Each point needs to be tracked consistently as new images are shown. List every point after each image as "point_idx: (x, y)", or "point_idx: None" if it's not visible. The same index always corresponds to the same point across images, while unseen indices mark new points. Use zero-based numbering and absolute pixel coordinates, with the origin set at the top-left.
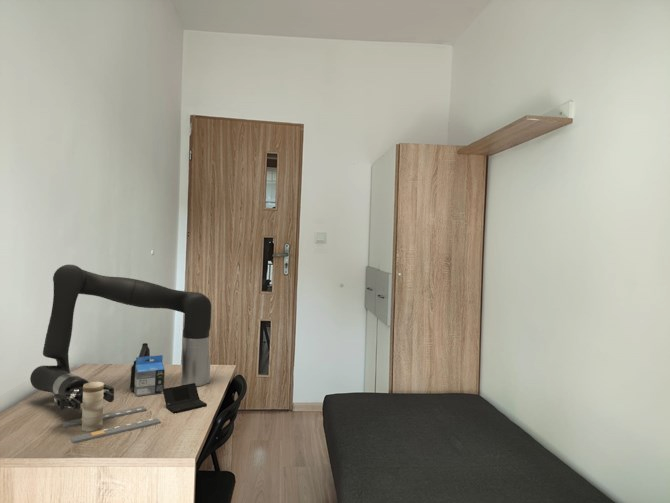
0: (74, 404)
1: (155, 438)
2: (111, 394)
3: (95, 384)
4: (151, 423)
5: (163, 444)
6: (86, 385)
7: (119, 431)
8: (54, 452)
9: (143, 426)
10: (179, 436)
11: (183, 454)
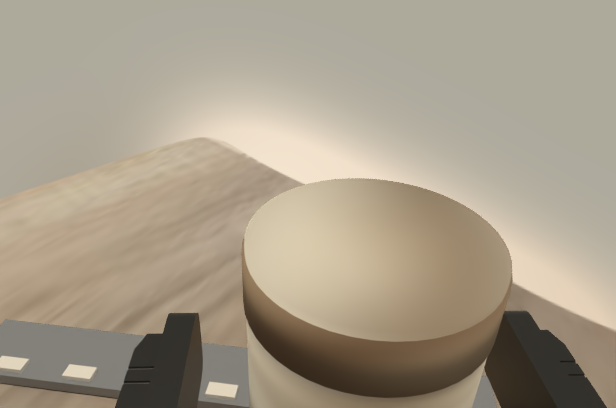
0: (550, 336)
1: (172, 232)
2: (182, 314)
3: (355, 226)
4: (57, 326)
5: (190, 195)
6: (467, 249)
7: (237, 350)
8: (572, 348)
9: (104, 335)
10: (105, 205)
11: (200, 147)
